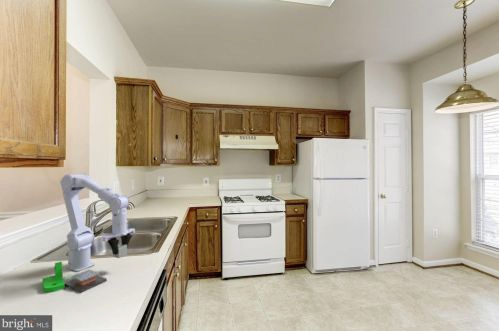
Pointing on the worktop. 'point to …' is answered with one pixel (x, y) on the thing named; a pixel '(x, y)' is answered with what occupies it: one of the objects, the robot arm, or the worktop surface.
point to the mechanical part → (54, 280)
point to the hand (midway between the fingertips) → (119, 252)
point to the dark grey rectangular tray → (85, 281)
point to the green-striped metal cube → (121, 250)
